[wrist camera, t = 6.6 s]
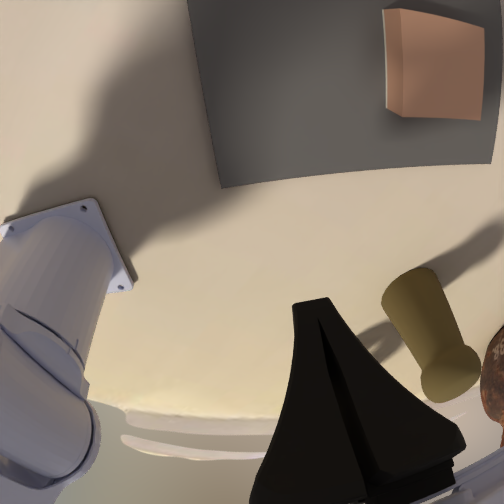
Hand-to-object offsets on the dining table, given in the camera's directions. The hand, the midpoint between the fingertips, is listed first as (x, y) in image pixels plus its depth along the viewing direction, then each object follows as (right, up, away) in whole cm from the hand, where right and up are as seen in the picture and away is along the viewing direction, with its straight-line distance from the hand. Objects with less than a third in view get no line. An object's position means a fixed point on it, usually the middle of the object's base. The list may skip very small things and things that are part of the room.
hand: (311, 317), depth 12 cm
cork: (+12, -1, +15) cm, 20 cm away
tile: (+5, +12, +1) cm, 13 cm away
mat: (+5, +13, +2) cm, 15 cm away
